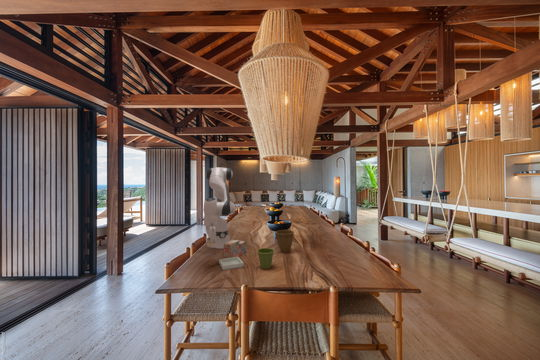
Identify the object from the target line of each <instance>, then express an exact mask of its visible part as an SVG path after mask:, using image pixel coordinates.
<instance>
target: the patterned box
mask: <svg viewBox="0 0 540 360" xmlns="http://www.w3.org/2000/svg"><path fill="white" fill-rule="evenodd" d="M245 253H247V252H246V241H245V240H239V239H230V241H229V242H227V243H224V248H223V259H225V258H232V257H239V258H240V256H242V255H244V254H245Z"/></svg>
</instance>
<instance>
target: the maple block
mask: <svg viewBox="0 0 540 360" xmlns="http://www.w3.org/2000/svg"><path fill="white" fill-rule="evenodd" d="M206 247H207V248H211V247H215V239H214V240H213V244H210V238H209V237H206Z"/></svg>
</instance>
